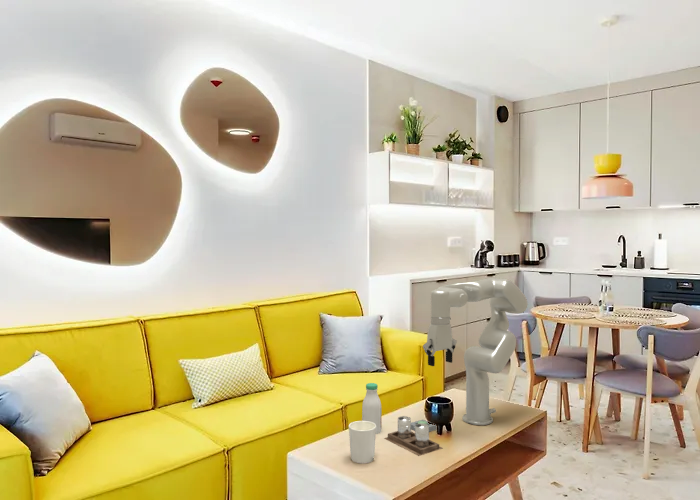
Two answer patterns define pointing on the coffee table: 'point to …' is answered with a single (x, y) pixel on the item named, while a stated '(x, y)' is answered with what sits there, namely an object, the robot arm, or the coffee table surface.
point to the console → (431, 427)
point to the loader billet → (404, 427)
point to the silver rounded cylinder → (422, 435)
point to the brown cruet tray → (412, 444)
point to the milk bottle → (372, 407)
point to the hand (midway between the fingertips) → (440, 363)
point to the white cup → (362, 441)
